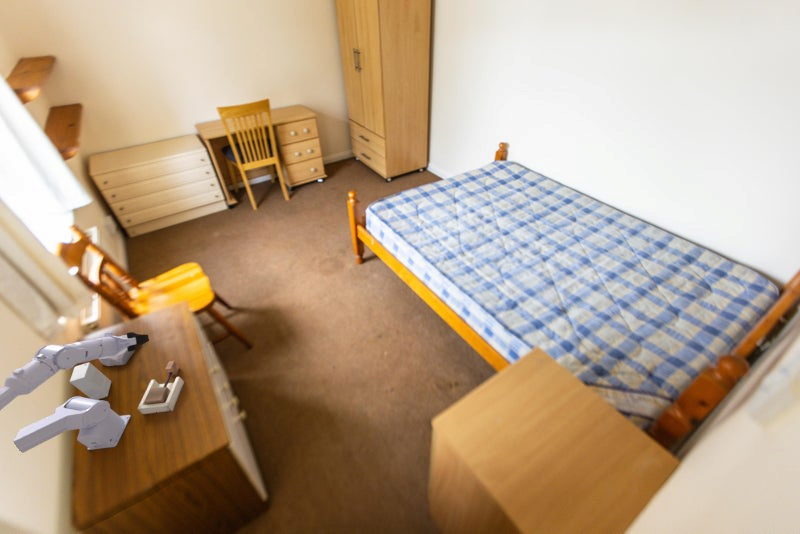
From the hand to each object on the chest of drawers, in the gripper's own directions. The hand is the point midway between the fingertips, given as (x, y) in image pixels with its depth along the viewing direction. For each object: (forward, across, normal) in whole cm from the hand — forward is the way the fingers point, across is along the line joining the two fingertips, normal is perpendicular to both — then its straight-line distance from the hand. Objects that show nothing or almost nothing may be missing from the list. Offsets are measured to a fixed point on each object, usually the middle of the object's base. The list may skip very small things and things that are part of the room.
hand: (137, 340), depth 111 cm
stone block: (+14, +21, +4) cm, 26 cm away
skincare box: (+2, +18, +15) cm, 24 cm away
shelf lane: (+3, -3, +20) cm, 20 cm away
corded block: (+5, -3, +17) cm, 19 cm away
